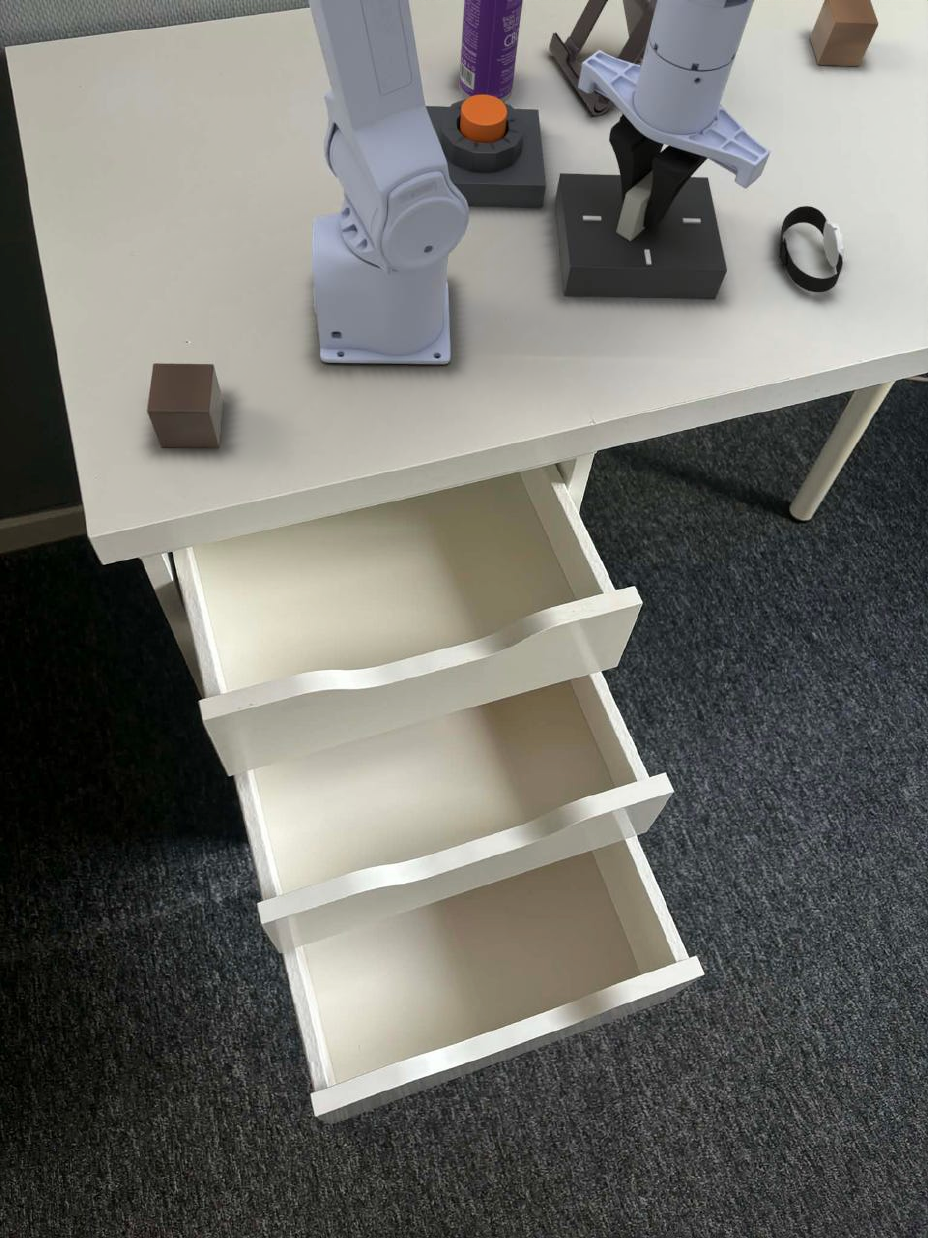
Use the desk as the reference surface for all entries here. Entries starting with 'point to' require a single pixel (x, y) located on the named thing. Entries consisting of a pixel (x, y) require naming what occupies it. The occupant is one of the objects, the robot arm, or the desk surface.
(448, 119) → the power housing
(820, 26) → the cork block
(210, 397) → the walnut block
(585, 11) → the tablet stand
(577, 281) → the panel
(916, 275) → the desk surface
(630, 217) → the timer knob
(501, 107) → the power button
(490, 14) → the container
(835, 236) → the watch
